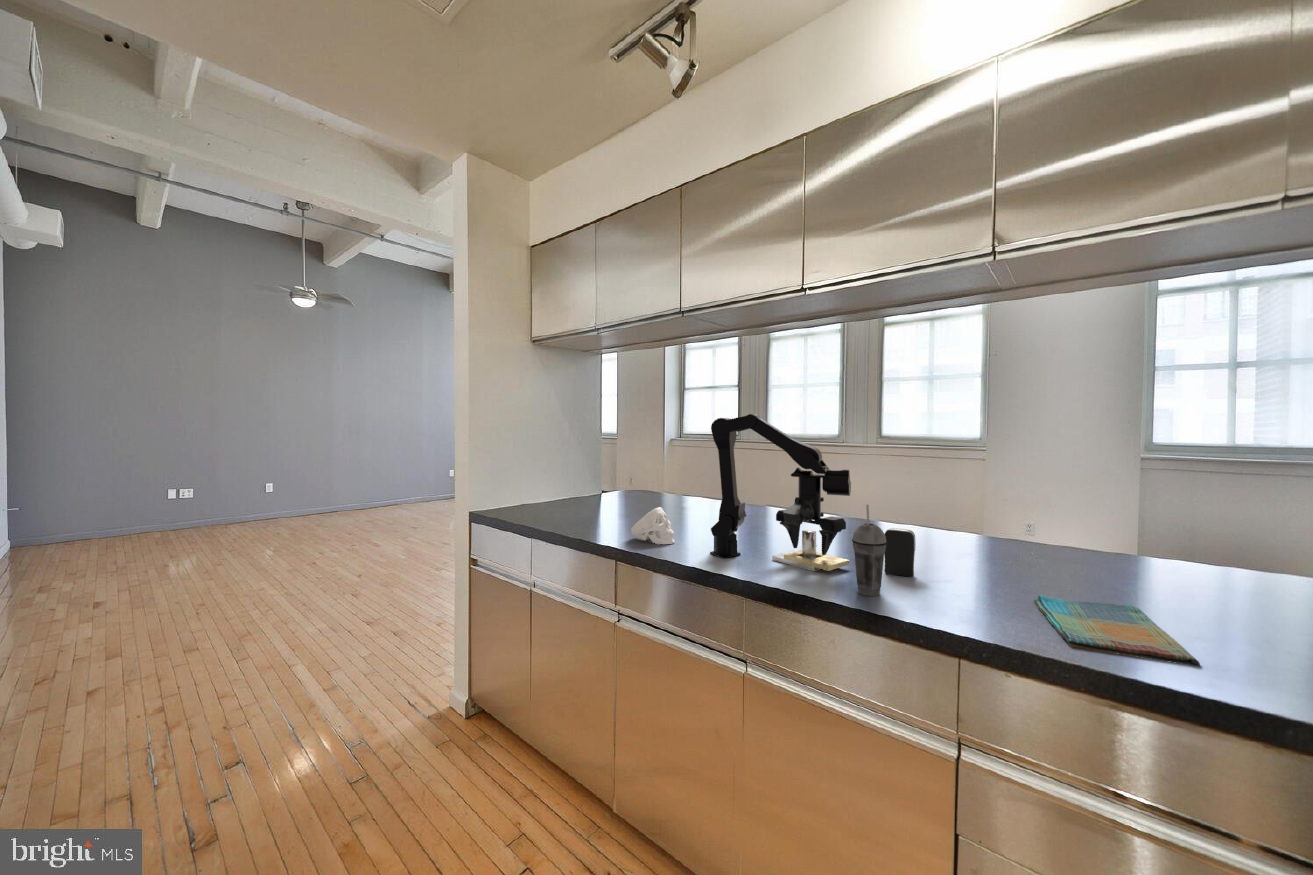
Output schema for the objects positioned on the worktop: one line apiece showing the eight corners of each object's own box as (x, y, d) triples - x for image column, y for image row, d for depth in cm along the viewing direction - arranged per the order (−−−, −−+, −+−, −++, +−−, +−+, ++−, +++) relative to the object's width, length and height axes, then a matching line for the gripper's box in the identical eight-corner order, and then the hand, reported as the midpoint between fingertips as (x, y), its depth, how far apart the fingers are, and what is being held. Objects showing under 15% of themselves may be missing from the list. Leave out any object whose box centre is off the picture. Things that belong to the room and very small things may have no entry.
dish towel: (1139, 617, 99) (1140, 604, 99) (1204, 670, 78) (1204, 654, 78) (1032, 604, 106) (1032, 592, 106) (1065, 649, 85) (1065, 634, 85)
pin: (799, 564, 135) (799, 531, 135) (807, 561, 137) (807, 529, 137) (810, 567, 132) (810, 533, 132) (818, 564, 134) (819, 531, 134)
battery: (916, 574, 126) (916, 529, 125) (914, 578, 122) (914, 531, 122) (886, 569, 130) (886, 526, 129) (883, 573, 126) (883, 528, 126)
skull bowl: (669, 543, 153) (651, 508, 157) (638, 562, 160) (621, 527, 164) (686, 536, 162) (669, 503, 165) (657, 554, 169) (640, 522, 172)
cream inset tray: (772, 559, 139) (772, 551, 139) (793, 554, 145) (793, 546, 145) (828, 575, 125) (828, 566, 125) (849, 569, 130) (849, 560, 130)
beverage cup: (891, 592, 113) (892, 503, 112) (879, 600, 107) (880, 507, 107) (858, 585, 118) (859, 500, 117) (846, 593, 112) (846, 504, 112)
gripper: (762, 492, 137) (762, 549, 138) (820, 500, 122) (820, 564, 122) (789, 489, 144) (788, 543, 144) (847, 496, 129) (847, 556, 129)
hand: (809, 551), depth 135 cm, fingers open, 9 cm apart
